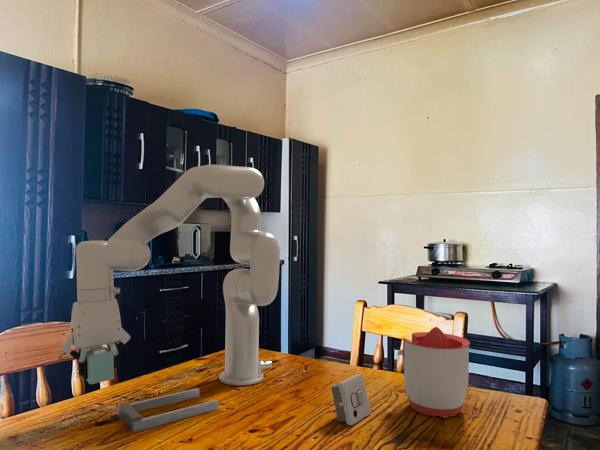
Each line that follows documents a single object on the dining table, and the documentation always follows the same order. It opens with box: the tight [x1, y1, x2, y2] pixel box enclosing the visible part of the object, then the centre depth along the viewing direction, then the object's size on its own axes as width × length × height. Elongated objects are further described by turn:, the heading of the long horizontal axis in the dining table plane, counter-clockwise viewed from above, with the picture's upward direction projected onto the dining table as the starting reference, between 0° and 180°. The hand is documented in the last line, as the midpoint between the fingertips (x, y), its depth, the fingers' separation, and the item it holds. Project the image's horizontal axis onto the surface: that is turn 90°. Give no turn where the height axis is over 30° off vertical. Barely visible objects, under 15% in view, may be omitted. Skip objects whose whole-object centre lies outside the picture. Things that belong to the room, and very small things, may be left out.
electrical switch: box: [330, 373, 372, 426], centre depth 104 cm, size 9×5×9 cm, turn 141°
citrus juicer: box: [396, 326, 471, 418], centre depth 110 cm, size 16×17×20 cm
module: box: [85, 345, 115, 385], centre depth 102 cm, size 5×7×7 cm
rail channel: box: [117, 387, 219, 433], centre depth 105 cm, size 20×11×2 cm, turn 129°
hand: (97, 374), depth 102 cm, fingers closed on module, 5 cm apart
